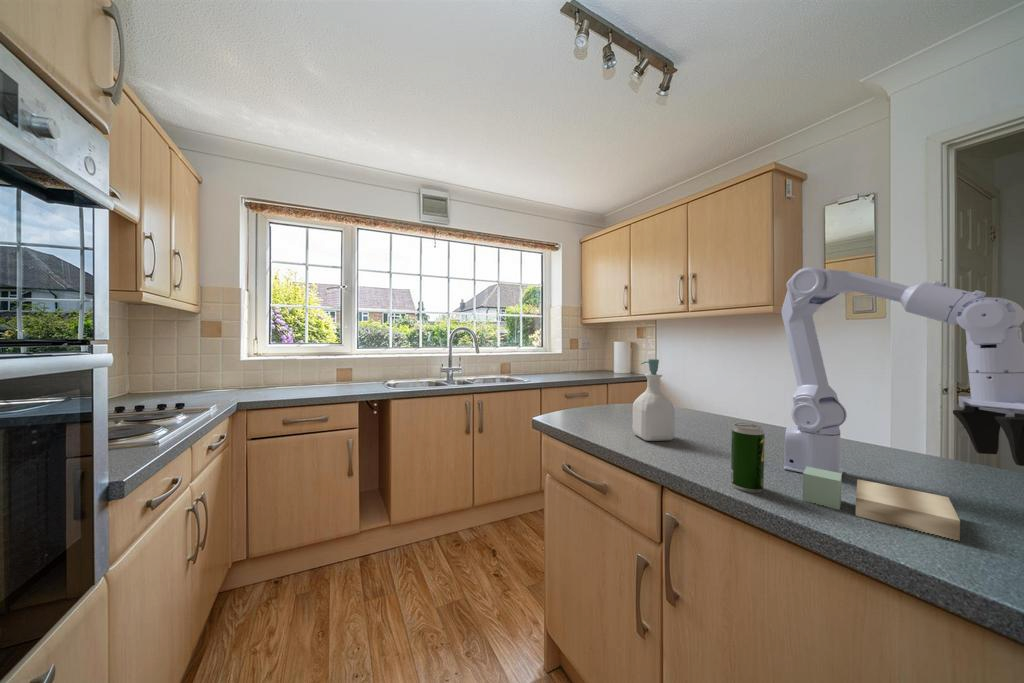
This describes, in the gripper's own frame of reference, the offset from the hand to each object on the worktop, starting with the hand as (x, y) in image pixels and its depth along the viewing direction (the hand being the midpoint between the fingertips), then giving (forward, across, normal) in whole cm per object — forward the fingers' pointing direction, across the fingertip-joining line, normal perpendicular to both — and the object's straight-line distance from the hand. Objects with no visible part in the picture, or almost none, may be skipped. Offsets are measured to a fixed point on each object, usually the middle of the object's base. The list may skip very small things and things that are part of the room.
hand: (1005, 459), depth 59 cm
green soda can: (+8, +1, +35) cm, 36 cm away
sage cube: (+9, 0, +24) cm, 26 cm away
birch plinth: (+10, -2, +14) cm, 17 cm away
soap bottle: (+6, +31, +53) cm, 62 cm away
